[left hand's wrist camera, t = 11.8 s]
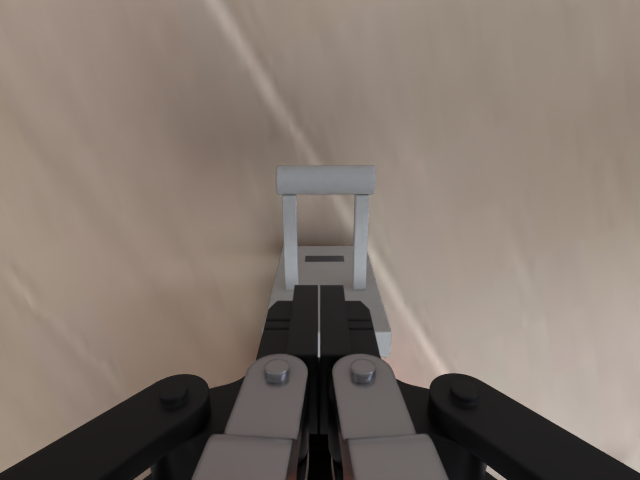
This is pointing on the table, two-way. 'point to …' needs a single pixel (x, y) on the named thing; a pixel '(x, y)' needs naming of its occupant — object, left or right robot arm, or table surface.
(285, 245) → the drawer
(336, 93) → the table surface
